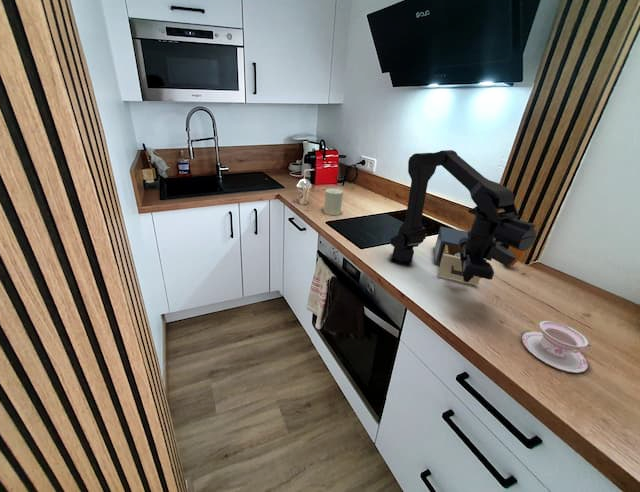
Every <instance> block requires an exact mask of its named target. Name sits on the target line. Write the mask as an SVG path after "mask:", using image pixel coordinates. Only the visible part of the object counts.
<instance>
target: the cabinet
mask: <svg viewBox="0 0 640 492" xmlns="http://www.w3.org/2000/svg"><path fill="white" fill-rule="evenodd" d="M468 231H469V230H468ZM468 231H467V230H463V229H456V228H450V227H445V226H440V227H439V229H438V234H437V238H436V241H435V244H434V265H437V266H440V255H441V252H442V249H443V245H444V244H449V245H454V246H459V245H458V244H459V241H460V239H461V238H463V237H467V238H468V235H467V234H468ZM463 246H464V245H463ZM463 246H462V247H463Z"/></svg>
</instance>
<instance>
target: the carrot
mask: <svg viewBox="0 0 640 492" xmlns="http://www.w3.org/2000/svg"><path fill="white" fill-rule="evenodd" d="M509 249H511V250H512V252H514V254H515V256H516V258H517V259H516V260H515V261H514V262H513V263H512V264H510V265H509V266H508V267H507V268H511V267H513V266H514V265H515V264H516V263H517V262H518V261H519V260H520V259H521V257H522V256H523V254H524V253H525V251H519V250H517V249H515V248H513V247H510V246H509Z"/></svg>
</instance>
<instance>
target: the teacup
mask: <svg viewBox="0 0 640 492" xmlns="http://www.w3.org/2000/svg"><path fill="white" fill-rule="evenodd" d="M538 326H539V328H540V330H541V331H542V332H541V331H526V332H525V333H523V334H522V337H521V342H522V345H523V346H524V347H525V348H526V350H527V351H528V352H529V353H530V354H531V355H533V356H534V357H535V358H537V359H538V360H539V361H542V363H544V364H546V365H548V366H551V367H552V368H555V369H558V370H560V371H563V372H567V373H573V374H579V373H584V372H585V371H586V370H588V361H587V359H586V357H585V356H584V355H583V354H582V353H584V352H586V351H587V350H589V348H590V347H592V345H591V344H590V343H589V341H588V339H587V338H586V337H585V336H584V335H583V333H580V332H579V331H577V330H576V329H574V328H572V327H570V326H568V325H565V324H563V323H559V322H557V321H552V320H542V321H540V322H539V325H538Z"/></svg>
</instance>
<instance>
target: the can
mask: <svg viewBox="0 0 640 492" xmlns="http://www.w3.org/2000/svg"><path fill="white" fill-rule="evenodd" d="M324 193H325V194H324V202H323V203H324V204H323V211H322V212H323V213H324V214H326V215H330V216H339V215H341V214H342V205H343V204H342V203H343V194H344V190H342V189H341V188H335V187H333V188H326V189H325V192H324Z"/></svg>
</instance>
